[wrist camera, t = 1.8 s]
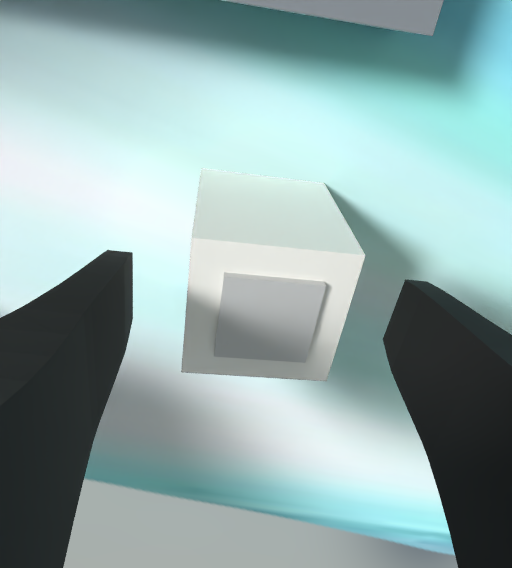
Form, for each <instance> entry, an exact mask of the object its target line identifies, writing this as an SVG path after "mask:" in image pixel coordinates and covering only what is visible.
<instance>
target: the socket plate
mask: <svg viewBox="0 0 512 568" xmlns="http://www.w3.org/2000/svg"><path fill="white" fill-rule="evenodd" d="M220 1H226V2H232V3H238V4H243V5H249V6H255V7H261V8H267V9H272V10H278V11H284V12H290V13H296V14H301V15H307V16H313V17H319V18H325V19H331V20H336V21H342V22H348V23H354V24H360V25H365V26H371V27H377V28H383V29H389V30H394V31H401V32H408V33H415V34H422V35H430V36H433V33H434V30H435V27H436V23H437V20H438V17H439V14H440V10H441V7H442V4H443V1H444V0H220Z"/></svg>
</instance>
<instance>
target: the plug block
mask: <svg viewBox="0 0 512 568" xmlns="http://www.w3.org/2000/svg"><path fill="white" fill-rule="evenodd" d="M365 256H366V255H365V254H364V252H363V250H362V248H361V247H360V245H359V243H358V241H357V240H356V238H355V236H354V234H353V233H352V231H351V229H350V227H349V226H348V224H347V222H346V220H345V219H344V217H343V215H342V213H341V212H340V210H339V208H338V206H337V205H336V203H335V201H334V199H333V198H332V196H331V194H330V192H329V191H328V189H327V187H326V185H325V184H324V183H320V182H312V181H304V180H296V179H288V178H279V177H271V176H263V175H255V174H247V173H238V172H230V171H222V170H214V169H206V168H201V172H200V180H199V187H198V194H197V202H196V209H195V216H194V223H193V231H192V238H191V251H190V265H189V278H188V291H187V305H186V318H185V331H184V344H183V358H182V371H181V372H186V373H202V374H218V375H234V376H250V377H266V378H282V379H298V380H314V381H327V378H328V375H329V371H330V368H331V365H332V362H333V358H334V355H335V352H336V349H337V346H338V342H339V339H340V336H341V333H342V330H343V326H344V323H345V320H346V317H347V313H348V310H349V307H350V304H351V301H352V297H353V294H354V291H355V288H356V284H357V281H358V278H359V275H360V272H361V268H362V265H363V262H364V259H365Z"/></svg>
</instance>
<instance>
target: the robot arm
mask: <svg viewBox="0 0 512 568" xmlns="http://www.w3.org/2000/svg"><path fill="white" fill-rule="evenodd" d="M132 319H133V261H132V253H131V252H121V251H110V250H107V251H106V252H104V253H103V254H101V255H100V256H98V257H97V258H96V259H94V260H93V261H92V262H90V263H89V264H87V265H86V266H85V267H83V268H82V269H81V270H79V271H78V272H76V273H75V274H73V275H72V276H71V277H69V278H68V279H66V280H65V281H63V282H62V283H60V284H59V285H57V286H56V287H54V288H53V289H51V290H49V291H48V292H46V293H44V294H43V295H41V296H40V297H38V298H36V299H35V300H33V301H31V302H30V303H28V304H26V305H24V306H23V307H21V308H19V309H17V310H15V311H13V312H11V313H10V314H7V315H5V316H3V317H1V318H0V568H63V566H64V562H65V557H66V553H67V548H68V544H69V539H70V535H71V530H72V526H73V521H74V517H75V513H76V509H77V505H78V500H79V496H80V492H81V488H82V483H83V480H84V476H85V472H86V468H87V464H88V460H89V456H90V452H91V448H92V444H93V440H94V437H95V434H96V431H97V428H98V425H99V422H100V419H101V417H102V414H103V411H104V408H105V406H106V403H107V400H108V398H109V395H110V392H111V390H112V387H113V384H114V381H115V379H116V376H117V373H118V371H119V368H120V365H121V362H122V360H123V357H124V354H125V351H126V347H127V342H128V338H129V333H130V329H131V324H132ZM383 341H384V345H385V349H386V354H387V358H388V361H389V365H390V368H391V371H392V374H393V376H394V379H395V381H396V383H397V386H398V388H399V390H400V393H401V395H402V397H403V400H404V402H405V404H406V407H407V409H408V411H409V413H410V416H411V418H412V420H413V423H414V425H415V427H416V429H417V432H418V434H419V436H420V439H421V441H422V443H423V446H424V449H425V451H426V454H427V456H428V459H429V462H430V466H431V469H432V472H433V475H434V479H435V482H436V485H437V488H438V491H439V495H440V498H441V502H442V506H443V509H444V513H445V517H446V520H447V524H448V527H449V531H450V535H451V539H452V543H453V548H454V552H455V556H456V560H457V564H458V568H512V335H511V334H509V333H508V332H506V331H505V330H503V329H501V328H500V327H498V326H497V325H495V324H494V323H492V322H490V321H489V320H487V319H486V318H484V317H483V316H481V315H480V314H478V313H477V312H475V311H474V310H472V309H471V308H469V307H468V306H466V305H465V304H463V303H462V302H460V301H459V300H457V299H456V298H454V297H452V296H451V295H449V294H448V293H446V292H445V291H443V290H441V289H440V288H438V287H436V286H434V285H432V284H430V283H428V282H424V281H414V280H405V282H404V285H403V287H402V290H401V293H400V295H399V298H398V300H397V303H396V306H395V308H394V311H393V314H392V316H391V319H390V322H389V324H388V327H387V330H386V332H385V335H384V337H383Z"/></svg>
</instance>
